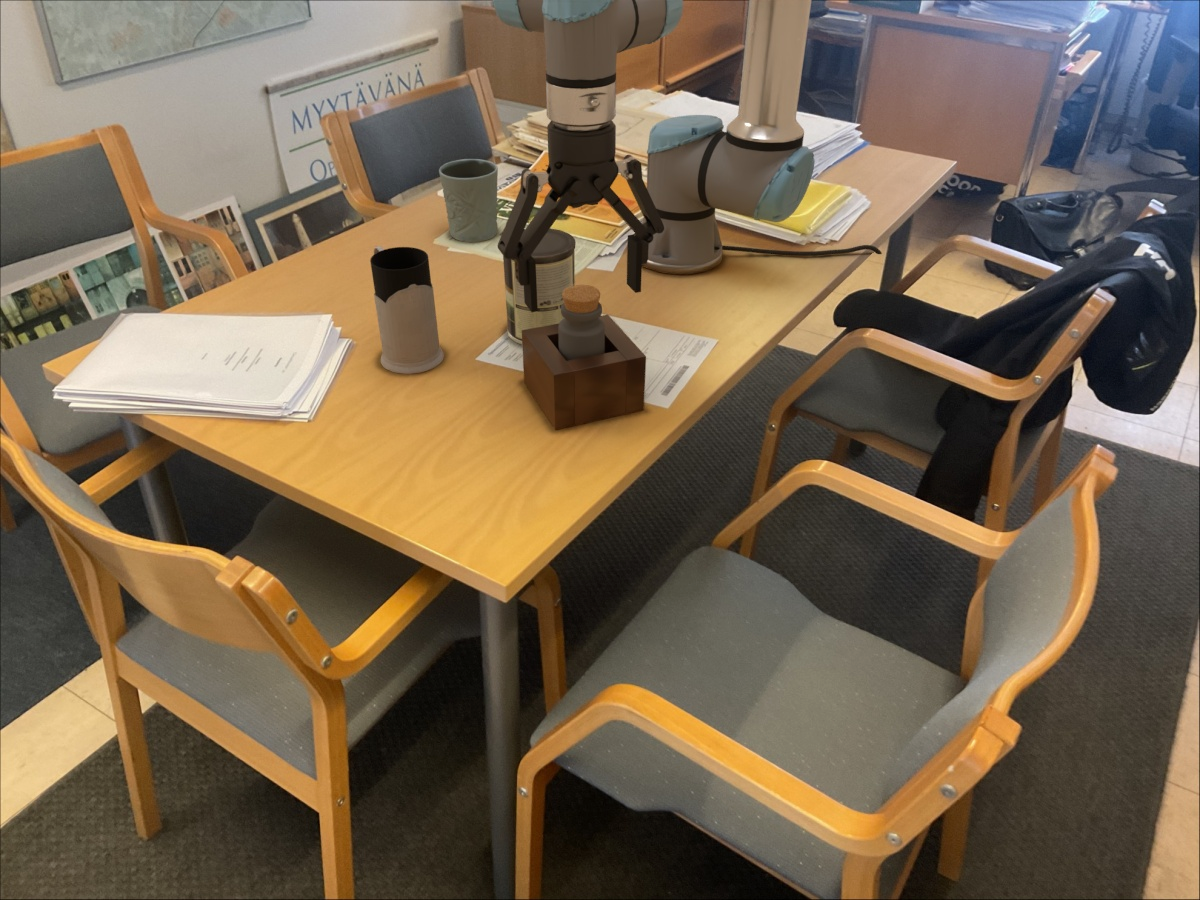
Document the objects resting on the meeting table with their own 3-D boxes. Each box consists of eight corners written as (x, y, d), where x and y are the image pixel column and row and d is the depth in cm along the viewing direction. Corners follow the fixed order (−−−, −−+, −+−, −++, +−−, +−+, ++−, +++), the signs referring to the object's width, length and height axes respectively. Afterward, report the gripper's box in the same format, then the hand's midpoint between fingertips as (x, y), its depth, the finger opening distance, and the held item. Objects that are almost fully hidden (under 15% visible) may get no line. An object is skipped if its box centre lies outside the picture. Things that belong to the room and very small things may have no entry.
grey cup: (506, 224, 167) (502, 160, 160) (494, 245, 159) (490, 179, 152) (453, 221, 168) (447, 157, 161) (438, 242, 160) (432, 176, 153)
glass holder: (394, 379, 122) (379, 277, 113) (358, 337, 131) (341, 239, 123) (453, 363, 125) (443, 262, 117) (414, 322, 135) (402, 227, 126)
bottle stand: (607, 365, 125) (607, 314, 120) (643, 410, 116) (646, 356, 111) (524, 382, 121) (521, 330, 117) (555, 430, 112) (553, 374, 108)
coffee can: (492, 330, 133) (486, 240, 125) (544, 309, 139) (541, 221, 131) (538, 355, 127) (535, 262, 119) (590, 331, 133) (590, 241, 125)
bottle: (569, 412, 115) (568, 306, 107) (553, 390, 120) (550, 287, 111) (611, 402, 117) (613, 298, 109) (593, 381, 122) (593, 279, 113)
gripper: (481, 144, 91) (495, 329, 104) (699, 117, 99) (687, 292, 112) (461, 124, 97) (477, 302, 109) (669, 100, 105) (661, 268, 117)
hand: (583, 297), depth 111 cm, fingers open, 13 cm apart
